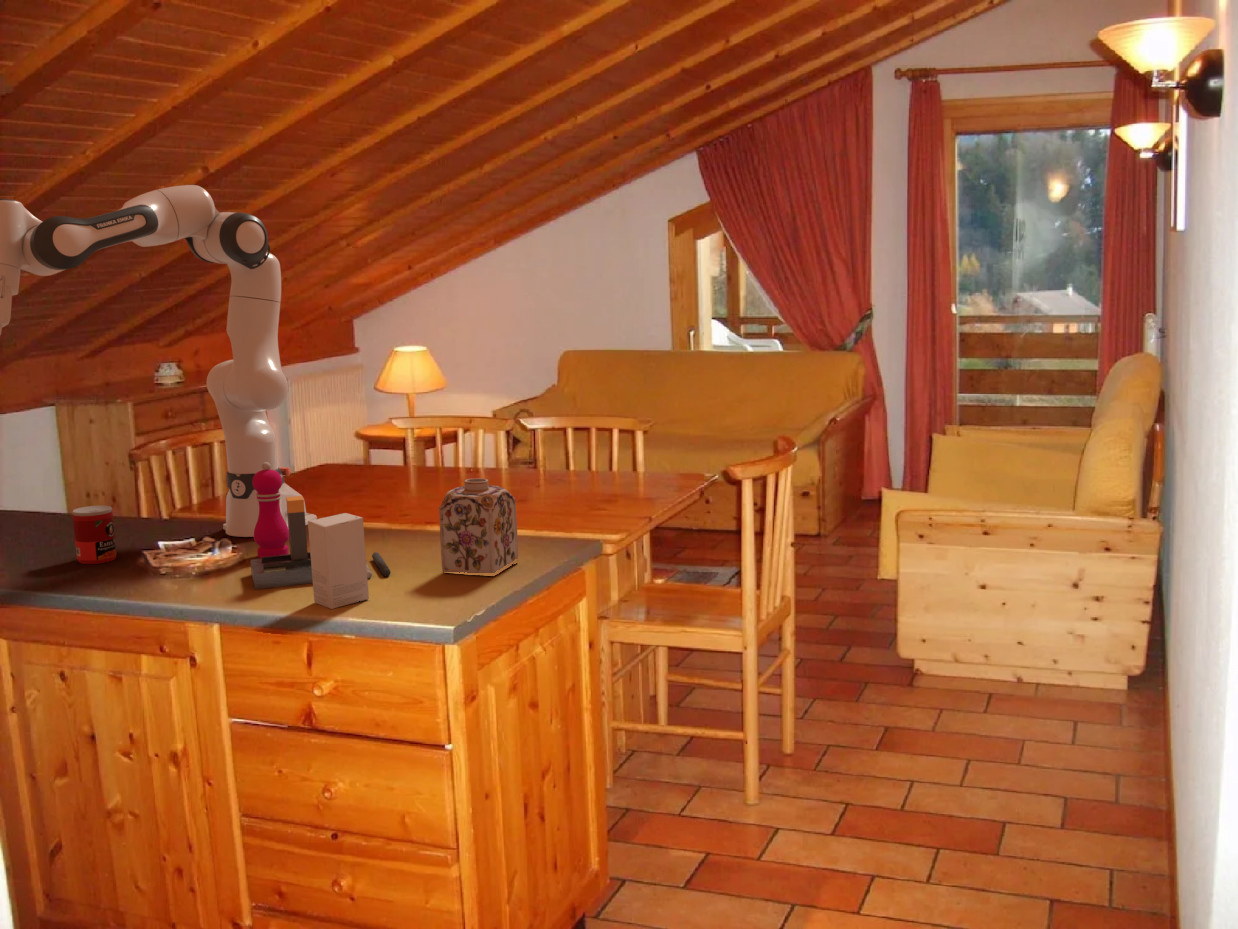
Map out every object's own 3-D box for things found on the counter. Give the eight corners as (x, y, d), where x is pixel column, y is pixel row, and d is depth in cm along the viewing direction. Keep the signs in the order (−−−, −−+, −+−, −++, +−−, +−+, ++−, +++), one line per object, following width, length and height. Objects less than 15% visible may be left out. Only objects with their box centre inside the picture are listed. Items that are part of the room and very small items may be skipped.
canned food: (103, 565, 262) (98, 513, 260) (69, 564, 263) (63, 512, 261) (124, 556, 269) (119, 505, 267) (91, 555, 271) (85, 505, 269)
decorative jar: (440, 574, 247) (435, 484, 244) (467, 559, 258) (463, 473, 254) (495, 578, 243) (491, 486, 240) (520, 563, 253) (517, 475, 250)
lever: (292, 563, 245) (287, 501, 243) (290, 558, 249) (286, 497, 246) (308, 561, 246) (303, 499, 244) (306, 557, 250) (301, 495, 247)
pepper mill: (297, 552, 268) (290, 459, 264) (278, 560, 261) (270, 465, 257) (268, 550, 270) (261, 458, 267) (248, 559, 263) (240, 464, 260)
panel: (254, 589, 239) (253, 569, 239) (251, 574, 251) (250, 554, 250) (350, 578, 245) (349, 558, 244) (343, 564, 256) (342, 545, 256)
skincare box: (352, 593, 235) (346, 511, 232) (371, 600, 230) (365, 517, 227) (312, 603, 229) (305, 519, 226) (330, 610, 224) (324, 525, 222)
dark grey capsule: (354, 561, 259) (353, 553, 258) (379, 558, 260) (379, 551, 260) (364, 579, 244) (363, 571, 244) (391, 576, 246) (390, 568, 246)
